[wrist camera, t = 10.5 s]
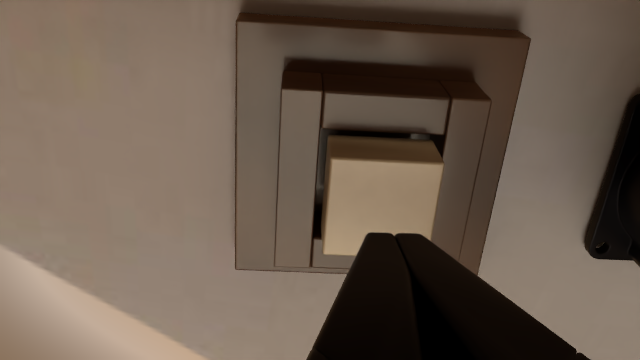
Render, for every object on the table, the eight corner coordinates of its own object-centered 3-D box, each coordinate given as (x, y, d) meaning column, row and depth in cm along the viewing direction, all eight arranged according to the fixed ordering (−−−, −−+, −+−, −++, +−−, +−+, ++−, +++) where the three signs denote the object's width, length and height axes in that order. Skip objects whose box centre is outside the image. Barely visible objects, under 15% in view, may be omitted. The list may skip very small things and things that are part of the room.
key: (418, 229, 19) (428, 260, 17) (320, 225, 19) (322, 255, 17) (433, 139, 18) (446, 163, 16) (327, 133, 17) (330, 157, 16)
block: (468, 261, 23) (490, 310, 20) (237, 252, 22) (229, 301, 20) (518, 29, 19) (554, 53, 16) (239, 12, 18) (228, 32, 16)
